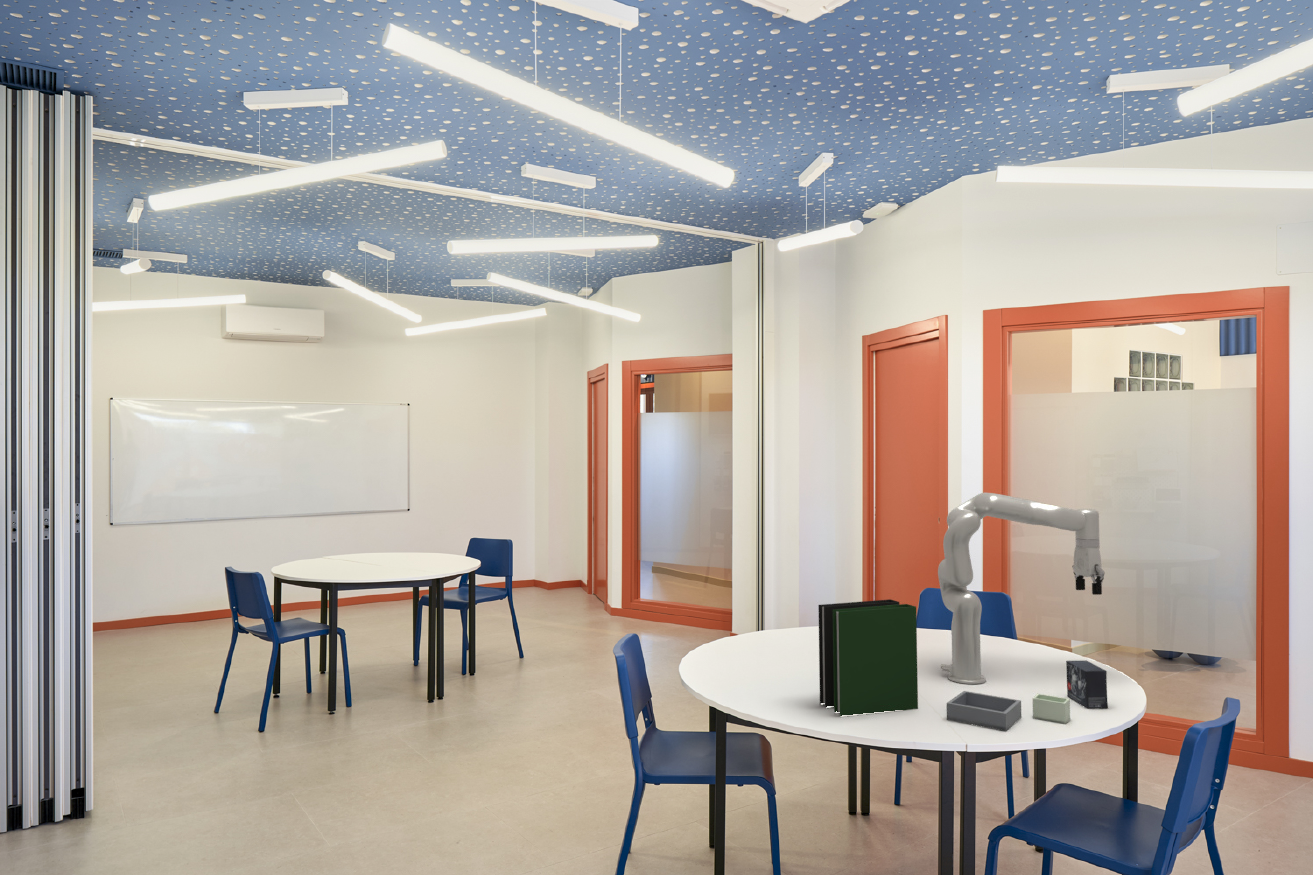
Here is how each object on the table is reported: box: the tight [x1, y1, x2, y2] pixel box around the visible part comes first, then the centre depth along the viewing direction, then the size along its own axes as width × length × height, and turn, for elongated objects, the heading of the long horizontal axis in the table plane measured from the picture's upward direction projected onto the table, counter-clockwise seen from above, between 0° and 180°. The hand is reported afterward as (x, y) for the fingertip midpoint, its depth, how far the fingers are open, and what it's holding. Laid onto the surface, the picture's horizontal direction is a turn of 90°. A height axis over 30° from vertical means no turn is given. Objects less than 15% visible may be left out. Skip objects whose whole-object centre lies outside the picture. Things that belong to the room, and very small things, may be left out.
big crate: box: [946, 690, 1022, 732], centre depth 242 cm, size 17×16×5 cm
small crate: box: [1032, 693, 1071, 725], centre depth 241 cm, size 9×6×6 cm, turn 51°
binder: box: [818, 598, 919, 717], centre depth 255 cm, size 27×15×32 cm, turn 107°
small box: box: [1065, 659, 1109, 710], centre depth 257 cm, size 13×7×12 cm, turn 178°
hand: (1088, 592), depth 285 cm, fingers open, 9 cm apart
